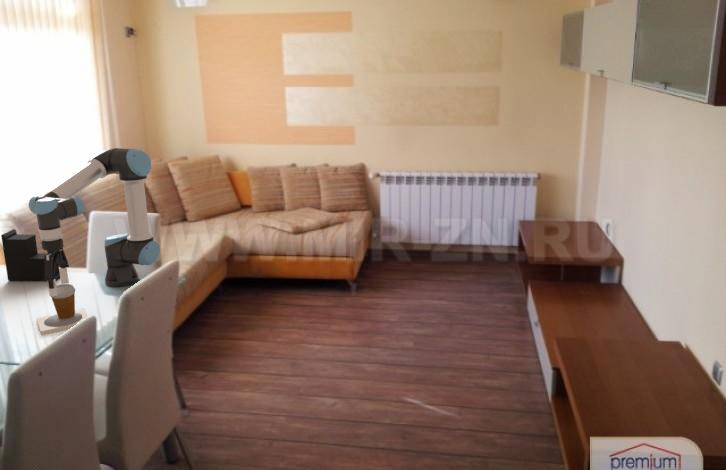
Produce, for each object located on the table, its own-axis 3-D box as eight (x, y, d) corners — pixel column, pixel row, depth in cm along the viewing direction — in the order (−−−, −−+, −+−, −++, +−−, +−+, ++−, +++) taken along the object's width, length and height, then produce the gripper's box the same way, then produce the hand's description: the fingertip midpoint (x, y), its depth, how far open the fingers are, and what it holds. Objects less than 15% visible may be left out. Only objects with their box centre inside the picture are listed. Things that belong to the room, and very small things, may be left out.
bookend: (66, 274, 300) (60, 229, 293) (56, 281, 289) (49, 234, 283) (19, 274, 300) (12, 229, 293) (7, 281, 289) (-1, 235, 283)
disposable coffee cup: (55, 311, 248) (50, 285, 243) (80, 307, 251) (75, 282, 246) (52, 322, 239) (47, 295, 235) (78, 318, 242) (73, 292, 238)
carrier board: (84, 312, 253) (84, 308, 252) (91, 324, 241) (90, 320, 240) (36, 321, 243) (36, 318, 243) (41, 334, 231) (40, 331, 231)
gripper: (52, 230, 244) (59, 278, 250) (29, 248, 220) (38, 301, 226) (71, 229, 245) (78, 277, 251) (50, 247, 221) (59, 300, 227)
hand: (59, 289), depth 238 cm, fingers open, 13 cm apart
